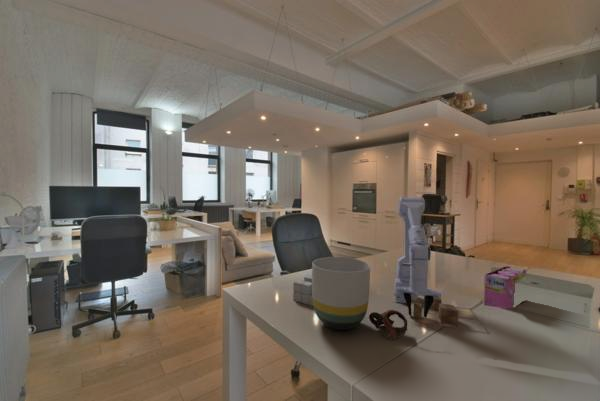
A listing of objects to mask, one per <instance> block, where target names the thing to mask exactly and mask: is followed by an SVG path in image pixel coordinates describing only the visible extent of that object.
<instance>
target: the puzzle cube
mask: <svg viewBox="0 0 600 401" xmlns="http://www.w3.org/2000/svg"><path fill="white" fill-rule="evenodd" d="M292 293H293V295H292V299H293V301H295V302H298V303H299V302H300V303H302V304H306V305H309V306H312V307H314V306H313V299H312V274H308V275H306V276H304V277H303V280H302V279H297V280H295V281H293V292H292Z"/></svg>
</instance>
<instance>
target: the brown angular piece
mask: <svg viewBox="0 0 600 401" xmlns="http://www.w3.org/2000/svg"><path fill="white" fill-rule="evenodd" d="M412 314H413V315H412V316H413V319H414V322H415V323H424V324H432V325H439V326H446V327H453V328H459V325H458V326H456V325H449V324H442V323H441V321H440V319H439V315H434V314H427V317H424V312H423V306H422V303H417V302H413V312H412Z"/></svg>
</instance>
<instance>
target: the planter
mask: <svg viewBox="0 0 600 401" xmlns="http://www.w3.org/2000/svg"><path fill="white" fill-rule="evenodd" d="M311 264H312V265H311V276H312V299H313V306H312V307H313V310H314V313H315V314H316V317H317V318H318V319H319V320H320V322H322V323H323V324H324V325H325V326H326V327H328V328H330V329H334V330H338V331H344V330H345V331H346V330H351V329H353V328H355V327H357V326H358V325H360V324H361V322H362V321H363V320H364V319H365V316H366V314H367V313H368V312H367V311H368V308H369V299H370V284H371V265H370V264H369V263H368V262H366V261H364V260H361V259H358V258H352V257H345V256H328V257H327V256H326V257H320V258H317V259H315V260H313V261H312V263H311Z"/></svg>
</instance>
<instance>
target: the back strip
mask: <svg viewBox="0 0 600 401" xmlns="http://www.w3.org/2000/svg"><path fill="white" fill-rule="evenodd" d="M433 298H434V302H433V305H431V307H432V309H433V312H434V314H439V303H440V304H442V298H441V299H440V298H437V297H433ZM457 310H458V317H464V318H472V319H477V318H478V317H477V318H476V317H475V315H474V314H475V313H474V314H473V313H472V311H471V310H472V309H471V310H470V309H461V308H457Z"/></svg>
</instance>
